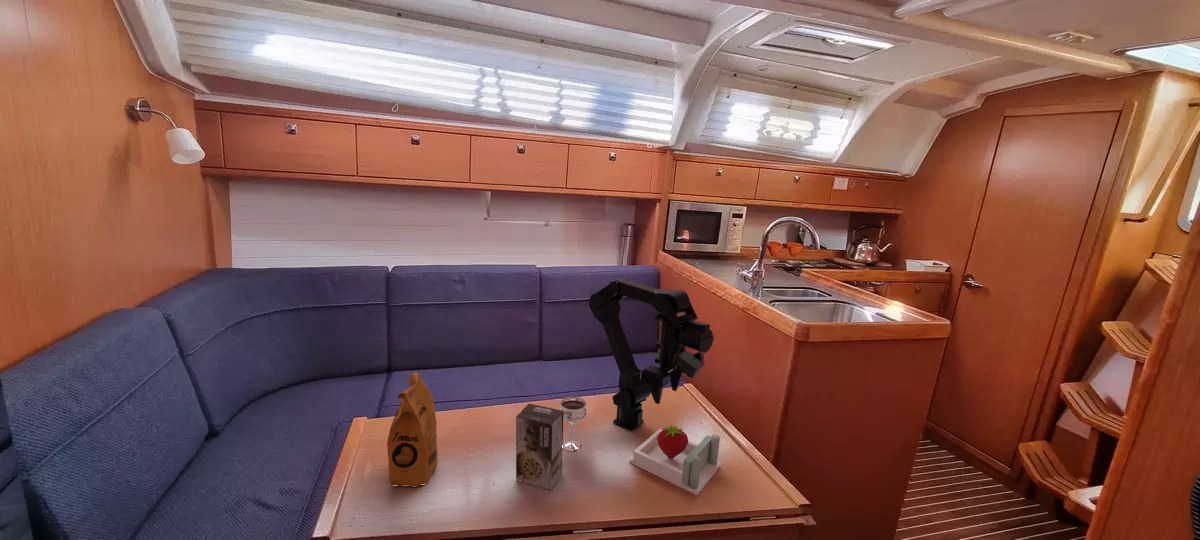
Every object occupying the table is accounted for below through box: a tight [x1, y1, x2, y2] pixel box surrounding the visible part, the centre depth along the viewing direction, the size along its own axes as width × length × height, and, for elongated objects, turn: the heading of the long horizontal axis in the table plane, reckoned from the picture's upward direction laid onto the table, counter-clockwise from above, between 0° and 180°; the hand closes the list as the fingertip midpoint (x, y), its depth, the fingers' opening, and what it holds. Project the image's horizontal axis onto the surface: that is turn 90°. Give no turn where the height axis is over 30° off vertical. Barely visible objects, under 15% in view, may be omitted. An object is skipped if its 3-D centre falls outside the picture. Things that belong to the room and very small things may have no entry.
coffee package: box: [386, 371, 439, 487], centre depth 101 cm, size 10×12×22 cm
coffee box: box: [515, 403, 564, 491], centre depth 102 cm, size 9×6×16 cm
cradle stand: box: [628, 428, 721, 496], centre depth 109 cm, size 18×13×8 cm
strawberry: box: [657, 424, 689, 459], centre depth 109 cm, size 6×8×10 cm
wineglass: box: [559, 396, 587, 449], centre depth 114 cm, size 7×7×12 cm
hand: (666, 396), depth 116 cm, fingers open, 9 cm apart
